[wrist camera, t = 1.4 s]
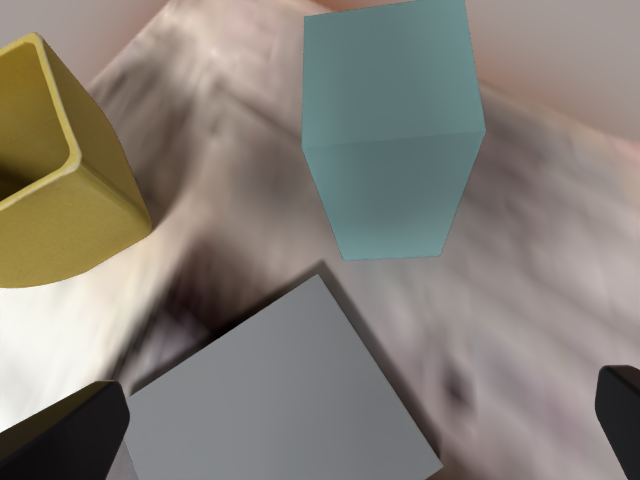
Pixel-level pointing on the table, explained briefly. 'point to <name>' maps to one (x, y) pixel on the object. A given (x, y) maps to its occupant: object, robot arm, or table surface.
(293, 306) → the coaster
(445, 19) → the block
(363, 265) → the table surface
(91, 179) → the flower pot
